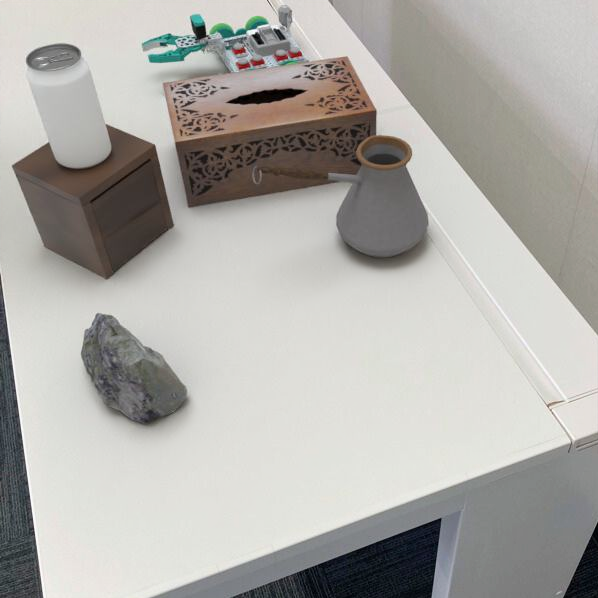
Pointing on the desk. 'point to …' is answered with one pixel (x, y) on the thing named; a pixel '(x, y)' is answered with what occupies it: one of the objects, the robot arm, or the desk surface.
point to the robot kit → (235, 43)
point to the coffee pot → (374, 198)
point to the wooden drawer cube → (97, 202)
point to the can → (68, 105)
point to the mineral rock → (129, 372)
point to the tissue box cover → (267, 127)
